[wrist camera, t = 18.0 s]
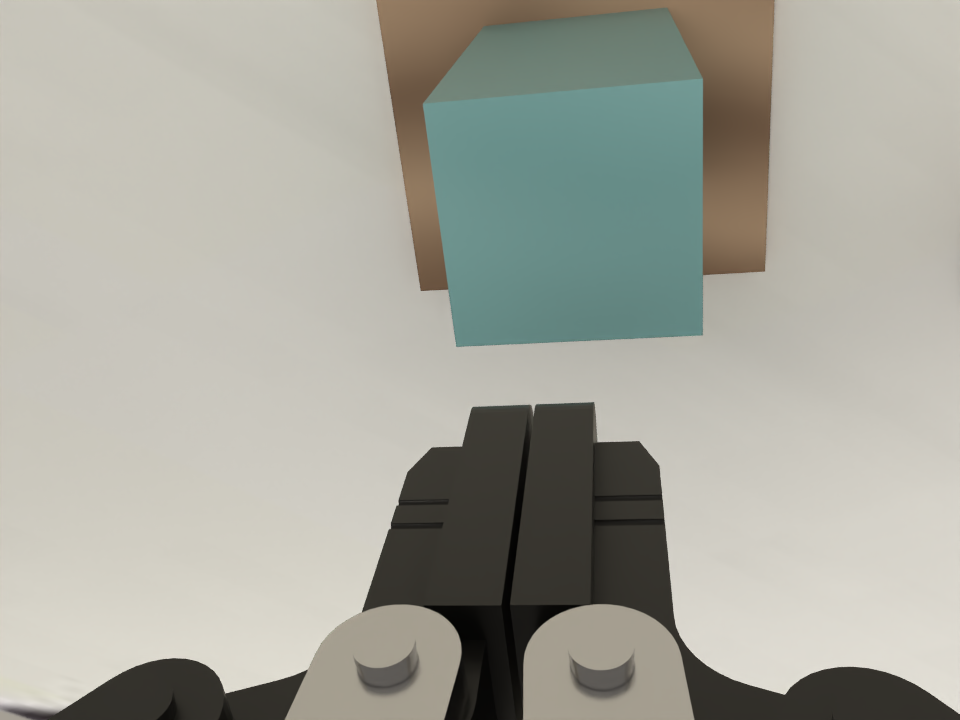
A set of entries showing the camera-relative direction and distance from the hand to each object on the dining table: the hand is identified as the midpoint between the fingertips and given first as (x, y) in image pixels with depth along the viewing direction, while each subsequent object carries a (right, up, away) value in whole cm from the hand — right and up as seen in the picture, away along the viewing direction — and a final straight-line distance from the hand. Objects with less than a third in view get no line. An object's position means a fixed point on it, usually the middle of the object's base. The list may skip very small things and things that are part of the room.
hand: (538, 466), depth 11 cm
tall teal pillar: (+2, +9, +18) cm, 20 cm away
